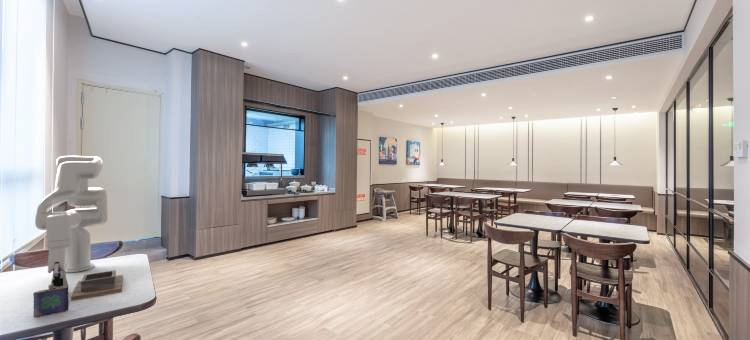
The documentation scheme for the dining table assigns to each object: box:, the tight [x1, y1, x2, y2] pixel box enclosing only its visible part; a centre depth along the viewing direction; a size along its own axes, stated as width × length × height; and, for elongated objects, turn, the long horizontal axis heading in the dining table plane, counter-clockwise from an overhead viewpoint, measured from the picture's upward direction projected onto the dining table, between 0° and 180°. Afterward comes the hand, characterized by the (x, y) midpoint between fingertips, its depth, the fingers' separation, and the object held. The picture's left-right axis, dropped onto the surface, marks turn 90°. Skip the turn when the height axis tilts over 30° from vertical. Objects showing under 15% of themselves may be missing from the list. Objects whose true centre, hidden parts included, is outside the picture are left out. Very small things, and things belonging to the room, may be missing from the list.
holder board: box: [70, 269, 124, 302], centre depth 145 cm, size 22×16×6 cm
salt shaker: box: [50, 270, 69, 288], centre depth 138 cm, size 6×6×13 cm
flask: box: [33, 283, 70, 318], centre depth 120 cm, size 9×3×11 cm, turn 129°
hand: (59, 285), depth 138 cm, fingers open, 5 cm apart
